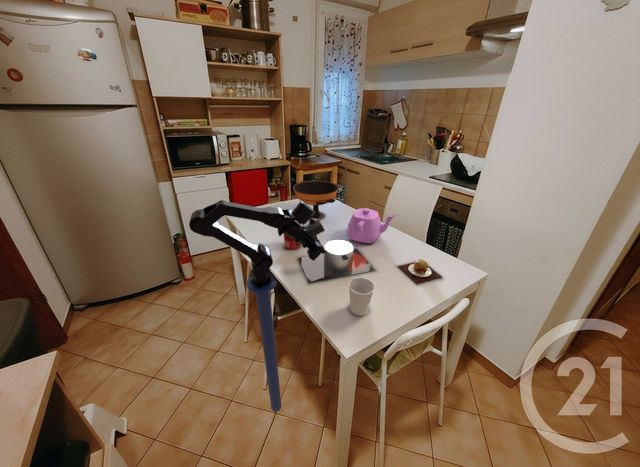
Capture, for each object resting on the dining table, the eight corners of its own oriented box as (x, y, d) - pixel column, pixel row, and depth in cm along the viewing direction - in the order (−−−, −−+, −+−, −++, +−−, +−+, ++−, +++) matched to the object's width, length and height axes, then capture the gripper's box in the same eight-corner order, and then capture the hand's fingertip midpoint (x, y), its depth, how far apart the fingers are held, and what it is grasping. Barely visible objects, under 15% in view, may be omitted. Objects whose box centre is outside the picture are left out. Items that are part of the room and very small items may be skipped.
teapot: (340, 245, 125) (342, 216, 118) (352, 226, 143) (353, 200, 136) (389, 254, 118) (393, 224, 111) (394, 234, 135) (399, 207, 128)
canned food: (300, 250, 121) (299, 228, 116) (283, 249, 121) (281, 228, 116) (301, 241, 128) (301, 221, 122) (285, 241, 128) (284, 221, 122)
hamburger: (421, 261, 113) (424, 250, 111) (441, 277, 104) (445, 266, 101) (398, 266, 110) (400, 255, 107) (416, 284, 100) (419, 272, 97)
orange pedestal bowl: (284, 208, 164) (283, 181, 156) (320, 202, 175) (320, 176, 166) (309, 232, 136) (309, 200, 128) (350, 223, 147) (352, 193, 138)
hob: (309, 283, 100) (309, 282, 99) (298, 258, 115) (298, 257, 114) (375, 270, 107) (375, 270, 107) (356, 248, 122) (356, 248, 122)
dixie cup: (344, 300, 91) (346, 277, 87) (368, 299, 92) (371, 276, 87) (348, 319, 84) (350, 294, 79) (374, 317, 84) (378, 293, 80)
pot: (330, 276, 103) (331, 259, 99) (319, 255, 116) (319, 240, 112) (358, 271, 106) (360, 254, 102) (344, 252, 119) (345, 236, 115)
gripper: (318, 227, 89) (347, 249, 97) (304, 207, 105) (330, 227, 113) (297, 250, 91) (326, 270, 99) (286, 227, 106) (312, 246, 115)
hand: (324, 252), depth 106 cm, fingers closed, pressing on pot
